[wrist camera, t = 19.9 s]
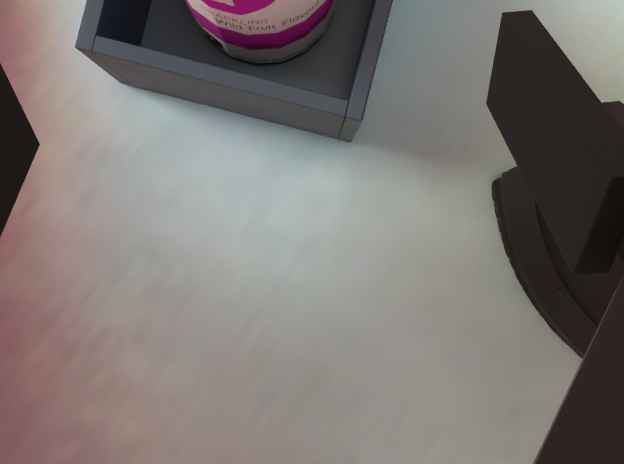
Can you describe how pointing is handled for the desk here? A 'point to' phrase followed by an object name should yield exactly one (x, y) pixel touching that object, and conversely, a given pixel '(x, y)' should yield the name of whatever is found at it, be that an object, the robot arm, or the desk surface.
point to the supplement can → (262, 26)
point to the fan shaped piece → (550, 266)
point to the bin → (241, 63)
